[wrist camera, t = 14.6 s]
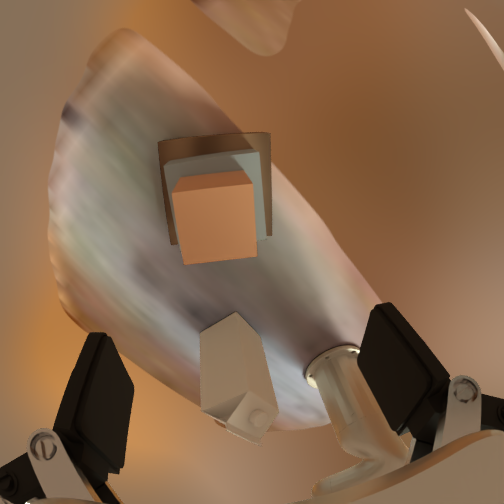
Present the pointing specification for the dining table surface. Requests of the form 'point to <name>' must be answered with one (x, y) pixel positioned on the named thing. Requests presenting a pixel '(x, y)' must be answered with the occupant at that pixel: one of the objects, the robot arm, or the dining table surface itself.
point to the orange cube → (215, 217)
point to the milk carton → (236, 379)
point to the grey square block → (217, 164)
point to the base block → (217, 145)
